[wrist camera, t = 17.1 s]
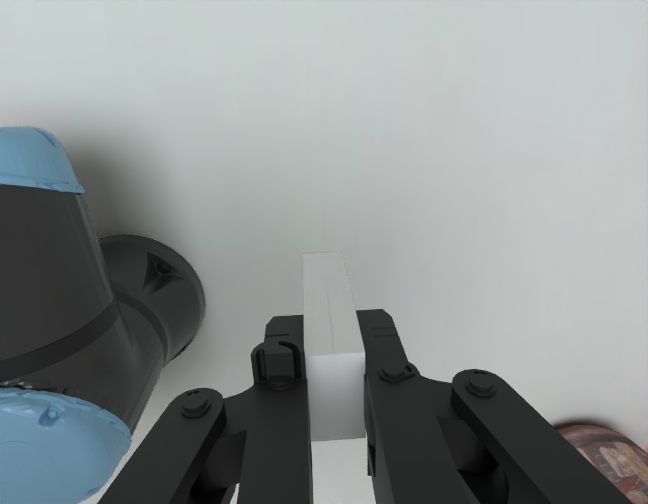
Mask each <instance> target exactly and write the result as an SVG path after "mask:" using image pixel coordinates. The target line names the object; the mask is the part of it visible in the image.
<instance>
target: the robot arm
mask: <svg viewBox="0 0 648 504" xmlns="http://www.w3.org/2000/svg"><path fill="white" fill-rule="evenodd" d="M83 194H85V190H84V188H83V187H82V186H81V185H79V183H78V181H77V178H76V176H75V173H74V171H73V168H72V166H71V163H70V161H69V158H68V155H67V153H66V150H65V148H64V146H63V145H62V143H61V142H60V141H59V140H58V139H57V138H56V137H55V136H54V135H53V134H51V133H49V132H47V131H45V130H43V129H40V128H36V127H0V504H77V503H79V502H82V501H84V500H86V499H87V498H89V497H91V496H92V495H94V494H95V493H97V492H98V491H99V490H100V489H101V487H103V486H104V485H105V484H106V482H107V481H108V480H109V479H110V477H111V476H112V474H113V473H114V471H115V469H116V467H117V465H118V464H119V462H120V460H121V459H122V457H123V456H124V455H125V454H126V453H127V451H128V450H129V448H130V445H131V441H132V440H131V438H132V435H133V433H134V431H135V429H136V426H137V424H138V422H139V420H140V418H141V415H142V413H143V411H144V409H145V407H146V404H147V402H148V400H149V398H150V395H151V393H152V391H153V389H154V387H155V384H156V382H157V380H158V378H159V376H160V373H161V371H162V369H163V368H164V367H165V366H166V365H167V364H168V363H169V361H171V360H173V359H174V358H176V357H177V356H178V355H180V354H181V353H182V352H183V351H184V350H185V349H186V348H187V347H188V346H189V345H190V343H191V342H192V341H193V339H194V338H195V336H196V334H197V331H198V329H199V327H200V324H201V321H202V318H203V315H204V307H205V300H204V293H203V289H202V286H201V283H200V281H199V279H198V277H197V275H196V273H195V272H194V270H193V269H192V267H191V266H190V265H189V264H188V263H187V262H186V260H185V259H183V258H182V257H181V256H180V255H179V254H178V253H176V252H175V251H174V250H172V249H171V248H169V247H167V246H165V245H164V244H162V243H159V242H157V241H154V240H152V239H148V238H145V237H140V236H133V235H117V236H110V237H106V238H102V239H99V240H98V238H97V235H96V232H95V229H94V226H93V223H92V220H91V217H90V214H89V211H88V207H87V204H86V201H85V198H84V195H83ZM303 313H304V315H293V316H276V317H273V318H272V319H271V320H270V322H269V323H268V324H267V325H266V331H265V338H264V342H263V343H261V344H259V345H258V346H257V347H255V348H254V349H253V351H252V353H251V362H252V370H253V378H254V385H253V386H252V387H251V388H249V389H248V390H246V391H244V392H242V393H240V394H237V395H234V396H231V397H228V398H224V399H223V397H222V395H221V394H220V393H219V392H218V391H216V390H213V389H209V388H196V389H193V390H189V391H186V392H184V393H183V394H181V395H179V396H177V397H176V398H175V399H174V400H173V401H172V402H171V403H170V404H169V405H168V407H167V408H166V409H165V411H164V412H163V414H162V415H161V416H160V418H159V419H158V421H157V422H156V423H155V425H154V426H153V427H152V429H151V430H150V432H149V433H148V434H147V436H146V437H145V438H144V440H143V441H142V443H141V444H140V445H139V447H138V448H137V449H136V451H135V452H134V454H133V455H132V456H131V458H130V459H129V460H128V462H127V463H126V465H125V466H124V467H123V469H122V470H121V471H120V473H119V474H118V476H117V477H116V478H115V480H114V481H113V482H112V484H111V485H110V487H109V488H108V489H107V491H106V492H105V494H104V495H103V496H102V498H101V499H100V500H99V502H98V503H97V504H230V501H231V499H232V497H233V494H234V492H235V488H236V484H237V483H240V485H239V492H238V499H237V504H313V478H312V453H311V442H312V441H326V440H341V439H356V438H366V432H367V441H368V476H370V475H371V477H372V482H373V488H374V494H375V500H376V504H634V503H633V502H631V501H630V500H629V499H628V498H627V497H626V496H625V495H624V494H623V493H622V492H621V491H620V490H619V489H618V488H617V487H616V486H615V485H614V484H613V483H612V482H610V481H609V480H608V479H607V478H606V477H605V476H604V475H603V474H602V473H601V472H600V471H599V470H598V469H597V468H596V467H595V466H594V465H593V464H592V463H591V462H589V461H588V460H587V459H586V458H585V457H584V456H583V455H582V454H581V453H580V452H579V451H578V450H577V449H576V448H575V447H574V446H573V445H572V444H571V443H569V442H568V441H567V440H566V439H565V438H564V437H563V436H562V435H561V434H560V433H559V432H558V431H557V430H556V429H555V428H554V427H553V426H552V425H551V424H550V423H548V422H547V421H546V420H545V419H544V418H543V417H542V416H541V415H540V414H539V413H538V412H537V411H536V410H535V409H534V408H533V407H532V406H531V405H530V404H528V403H527V402H526V401H525V400H524V399H523V398H522V397H521V396H520V395H519V394H518V393H517V392H516V391H515V390H514V389H513V388H512V387H511V386H510V385H509V384H507V383H506V382H505V381H504V380H503V379H502V378H500V377H499V376H497V375H496V374H493V373H491V372H488V371H485V370H478V369H470V370H464V371H461V372H459V373H457V374H456V375H455V376H454V378H453V381H452V383H448V382H442V381H436V380H432V379H428V378H426V377H423V376H421V375H420V373H419V371H418V370H417V368H416V367H415V366H414V365H413V364H411V363H410V362H408V360H407V357H406V354H405V352H404V349H403V346H402V343H401V341H400V338H399V336H398V333H397V330H396V328H395V324H394V322H393V319H392V317H391V316H390V315H389V314H388V313H387V312H385V311H384V310H383V309H375V310H358V311H356V310H355V306H354V301H353V297H352V293H351V288H350V284H349V280H348V275H347V271H346V266H345V262H344V258H343V253H342V252H325V253H307V254H303Z"/></svg>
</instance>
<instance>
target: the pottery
mask: <svg viewBox="0 0 648 504" xmlns="http://www.w3.org/2000/svg"><path fill="white" fill-rule="evenodd" d="M556 430H557V431H558V432H559V433H560V434H561V435H562V436H563V437H564V438H565V439H566V440H567V441H568V442H569V443H571V444H572V445H573V446H574V447H575V448H576V449H577V450H578V451H579V452H580V453H581V454H582V455H583V456H584V457H585V458H586V459H587V460H588V461H589V462H591V463H592V464H593V465H594V466H595V467H596V468H597V469H598V470H599V471H600V472H601V473H602V474H603V475H604V476H605V477H606V478H607V479H608V480H609V481H610V482H612V483H613V484H614V485H615V486H616V487H617V488H618V489H619V490H620V491H621V492H622V493H623V494H624V495H625V496H626V497H627V498H628V499H629V500H630V501H631V502H633V503H634V504H648V454H647V453H646V452H645V451H644V450H643V449H641V448H640V447H639V446H638V445H636V444H635V443H634V442H632V441H631V440H630V439H628V438H627V437H626V436H624V435H623V434H620V433H618V432H616V431H613V430H611V429H608V428H604V427H600V426H596V425H568V426H564V427H560V428H557V429H556Z"/></svg>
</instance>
